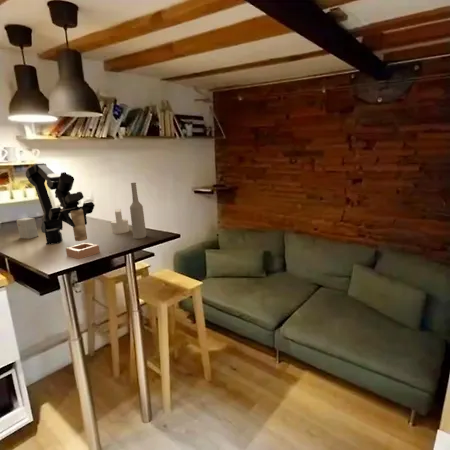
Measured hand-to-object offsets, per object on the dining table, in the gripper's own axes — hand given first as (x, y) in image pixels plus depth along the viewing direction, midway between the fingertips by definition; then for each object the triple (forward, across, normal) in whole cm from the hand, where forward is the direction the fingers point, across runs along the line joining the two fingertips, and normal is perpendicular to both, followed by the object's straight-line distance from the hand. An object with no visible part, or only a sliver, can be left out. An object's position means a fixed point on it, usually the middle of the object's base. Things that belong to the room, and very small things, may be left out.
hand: (80, 225), depth 146 cm
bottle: (+7, +31, +12) cm, 34 cm away
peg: (+4, 0, +6) cm, 7 cm away
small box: (-33, -4, +52) cm, 62 cm away
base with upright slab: (-7, +32, +27) cm, 42 cm away
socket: (+8, 0, +10) cm, 13 cm away
